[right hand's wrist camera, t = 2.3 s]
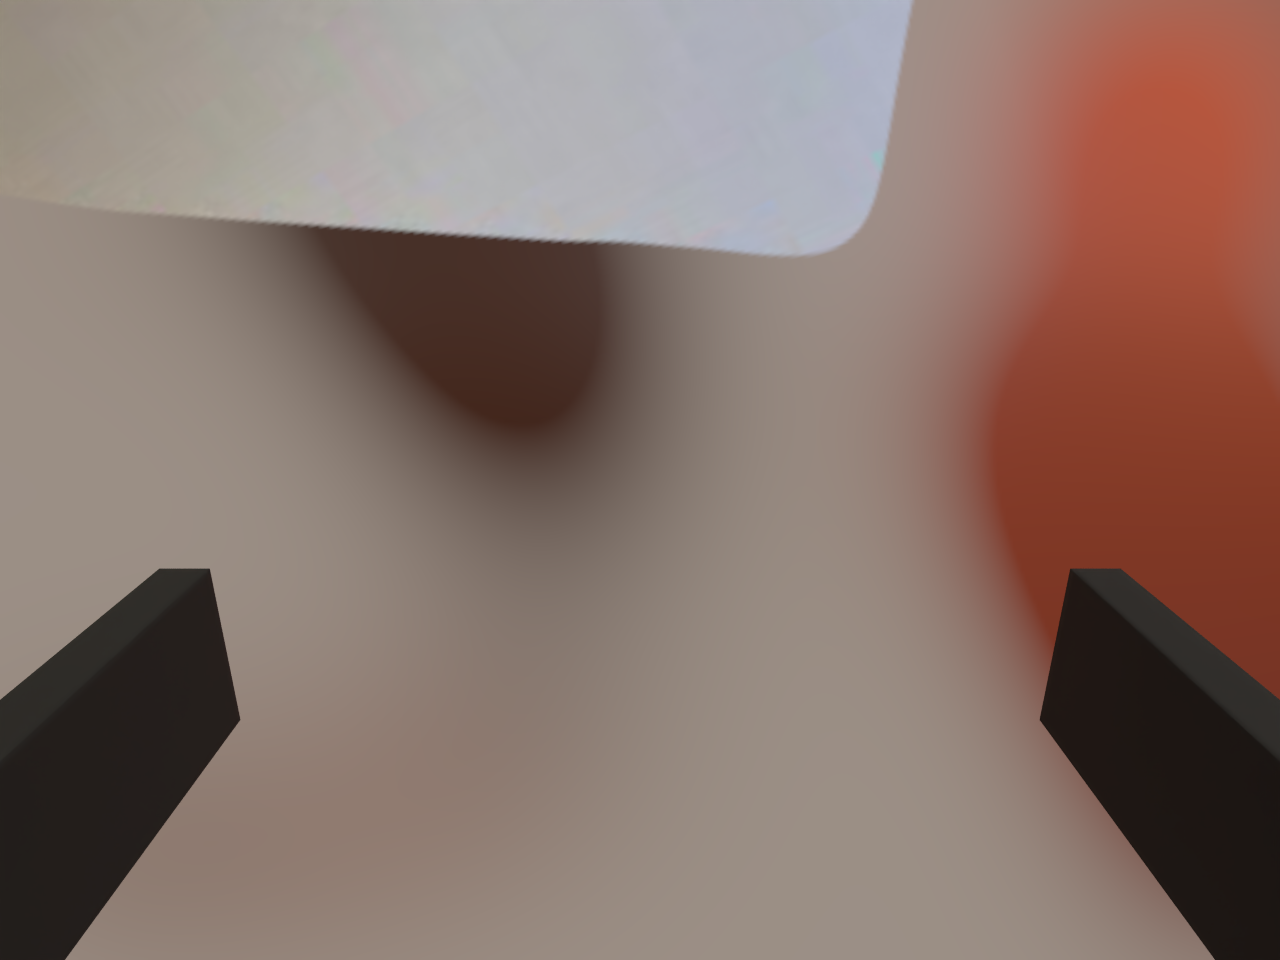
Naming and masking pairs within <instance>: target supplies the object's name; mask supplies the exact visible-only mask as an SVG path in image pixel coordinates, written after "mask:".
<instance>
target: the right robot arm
mask: <svg viewBox="0 0 1280 960" xmlns="http://www.w3.org/2000/svg"><path fill="white" fill-rule="evenodd" d="M239 721H240V716H239V711H238V706H237V701H236V696H235V691H234V686H233V681H232V676H231V671H230V666H229V662H228V657H227V652H226V647H225V642H224V637H223V632H222V627H221V622H220V617H219V612H218V607H217V602H216V597H215V593H214V588H213V583H212V578H211V573H210V569H159V570H157V571H156V572H155V573H154V574H152V575H151V576H150V577H149V578H148V579H146V580H145V581H144V582H143V583H142V584H140V585H139V586H138V587H137V588H135V589H134V590H133V591H132V592H131V593H129V594H128V595H127V596H126V597H125V598H123V599H122V600H121V601H120V602H119V603H117V604H116V605H115V606H114V607H112V608H111V609H110V610H109V611H108V612H106V613H105V614H104V615H103V616H101V617H100V618H99V619H98V620H97V621H95V622H94V623H93V624H92V625H91V626H89V627H88V628H87V629H86V630H84V631H83V632H82V633H81V634H80V635H78V636H77V637H76V638H75V639H74V640H72V641H71V642H70V643H69V644H67V645H66V646H65V647H64V648H63V649H61V650H60V651H59V652H58V653H57V654H55V655H54V656H53V657H52V658H50V659H49V660H48V661H47V662H46V663H44V664H43V665H42V666H41V667H40V668H38V669H37V670H36V671H35V672H34V673H32V674H31V675H30V676H29V677H27V678H26V679H25V680H24V681H23V682H21V683H20V684H19V685H18V686H16V687H15V688H14V689H13V690H12V691H10V692H9V693H8V694H7V695H6V696H4V697H3V698H2V699H1V700H0V960H65V959H66V958H67V956H68V955H69V953H70V952H71V951H72V949H73V948H74V947H75V945H76V944H77V943H78V941H79V940H80V938H81V937H82V936H83V934H84V933H85V932H86V930H87V929H88V927H89V926H90V925H91V923H92V922H93V921H94V919H95V918H96V916H97V915H98V914H99V912H100V911H101V910H102V908H103V907H104V906H105V904H106V903H107V901H108V900H109V899H110V897H111V896H112V895H113V893H114V892H115V891H116V889H117V888H118V886H119V885H120V884H121V882H122V881H123V880H124V878H125V877H126V875H127V874H128V873H129V871H130V870H131V869H132V867H133V866H134V865H135V863H136V862H137V860H138V859H139V858H140V856H141V855H142V854H143V852H144V851H145V849H146V848H147V847H148V845H149V844H150V843H151V841H152V840H153V839H154V837H155V836H156V834H157V833H158V832H159V830H160V829H161V828H162V826H163V825H164V823H165V822H166V821H167V819H168V818H169V817H170V815H171V814H172V813H173V811H174V810H175V808H176V807H177V806H178V804H179V803H180V802H181V800H182V799H183V797H184V796H185V795H186V793H187V792H188V791H189V789H190V788H191V787H192V785H193V784H194V782H195V781H196V780H197V778H198V777H199V776H200V774H201V773H202V771H203V770H204V769H205V767H206V766H207V765H208V763H209V762H210V761H211V759H212V758H213V756H214V755H215V754H216V752H217V751H218V750H219V748H220V747H221V745H222V744H223V743H224V741H225V740H226V739H227V737H228V736H229V734H230V733H231V732H232V730H233V729H234V728H235V726H236V725H237V724H238V722H239ZM1040 721H1041V722H1042V724H1043V725H1044V726H1045V728H1046V729H1047V730H1048V732H1049V733H1050V734H1051V736H1052V737H1053V739H1054V740H1055V741H1056V743H1057V744H1058V745H1059V747H1060V748H1061V750H1062V751H1063V752H1064V754H1065V755H1066V756H1067V758H1068V759H1069V761H1070V762H1071V763H1072V765H1073V766H1074V767H1075V769H1076V770H1077V771H1078V773H1079V774H1080V776H1081V777H1082V778H1083V780H1084V781H1085V782H1086V784H1087V785H1088V787H1089V788H1090V789H1091V791H1092V792H1093V793H1094V795H1095V796H1096V797H1097V799H1098V800H1099V801H1100V803H1101V804H1102V806H1103V807H1104V808H1105V810H1106V811H1107V812H1108V814H1109V815H1110V817H1111V818H1112V819H1113V821H1114V822H1115V823H1116V825H1117V826H1118V828H1119V829H1120V830H1121V832H1122V833H1123V834H1124V836H1125V837H1126V839H1127V840H1128V841H1129V843H1130V844H1131V845H1132V847H1133V848H1134V849H1135V851H1136V852H1137V854H1138V855H1139V856H1140V858H1141V859H1142V860H1143V862H1144V863H1145V865H1146V866H1147V867H1148V869H1149V870H1150V871H1151V873H1152V874H1153V875H1154V877H1155V878H1156V880H1157V881H1158V882H1159V884H1160V885H1161V886H1162V888H1163V889H1164V891H1165V892H1166V893H1167V895H1168V896H1169V897H1170V899H1171V900H1172V901H1173V903H1174V904H1175V906H1176V907H1177V908H1178V910H1179V911H1180V912H1181V914H1182V915H1183V917H1184V918H1185V919H1186V921H1187V922H1188V923H1189V925H1190V926H1191V927H1192V929H1193V930H1194V932H1195V933H1196V934H1197V936H1198V937H1199V938H1200V940H1201V941H1202V942H1203V944H1204V945H1205V946H1206V948H1207V949H1208V951H1209V952H1210V953H1211V955H1212V956H1213V958H1214V959H1215V960H1280V700H1279V699H1278V698H1277V697H1276V696H1274V695H1273V694H1272V693H1271V692H1270V691H1268V690H1267V689H1266V688H1265V687H1264V686H1262V685H1261V684H1260V683H1259V682H1257V681H1256V680H1255V679H1254V678H1253V677H1251V676H1250V675H1249V674H1248V673H1247V672H1245V671H1244V670H1243V669H1242V668H1240V667H1239V666H1238V665H1237V664H1236V663H1234V662H1233V661H1232V660H1231V659H1230V658H1228V657H1227V656H1226V655H1225V654H1223V653H1222V652H1221V651H1220V650H1219V649H1217V648H1216V647H1215V646H1214V645H1212V644H1211V643H1210V642H1209V641H1208V640H1206V639H1205V638H1204V637H1203V636H1202V635H1200V634H1199V633H1198V632H1197V631H1195V630H1194V629H1193V628H1192V627H1191V626H1189V625H1188V624H1187V623H1186V622H1185V621H1183V620H1182V619H1181V618H1180V617H1179V616H1177V615H1176V614H1175V613H1174V612H1172V611H1171V610H1170V609H1169V608H1168V607H1166V606H1165V605H1164V604H1163V603H1162V602H1160V601H1159V600H1158V599H1157V598H1155V597H1154V596H1153V595H1152V594H1151V593H1149V592H1148V591H1147V590H1146V589H1145V588H1143V587H1142V586H1141V585H1140V584H1138V583H1137V582H1136V581H1135V580H1134V579H1132V578H1131V577H1130V576H1129V575H1128V574H1126V573H1125V572H1124V571H1123V570H1121V569H1070V573H1069V578H1068V583H1067V588H1066V593H1065V598H1064V602H1063V607H1062V612H1061V617H1060V622H1059V627H1058V632H1057V637H1056V642H1055V647H1054V652H1053V657H1052V662H1051V666H1050V671H1049V676H1048V681H1047V686H1046V691H1045V696H1044V701H1043V706H1042V711H1041V716H1040Z"/></svg>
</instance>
